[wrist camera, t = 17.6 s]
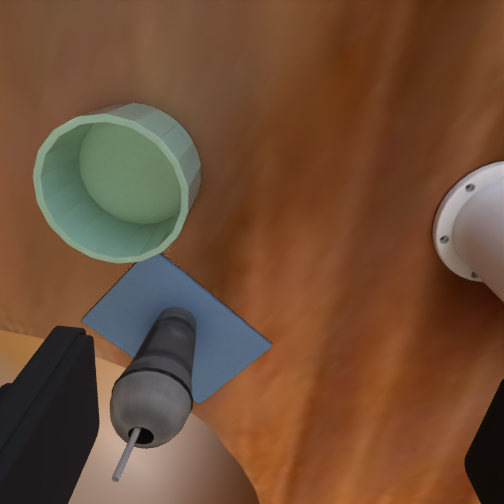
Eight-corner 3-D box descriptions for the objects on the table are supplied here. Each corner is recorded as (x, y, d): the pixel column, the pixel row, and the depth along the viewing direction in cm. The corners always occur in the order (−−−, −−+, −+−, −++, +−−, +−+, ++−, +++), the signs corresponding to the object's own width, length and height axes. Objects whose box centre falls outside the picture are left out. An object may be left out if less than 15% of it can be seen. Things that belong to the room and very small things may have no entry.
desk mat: (272, 343, 49) (272, 346, 48) (199, 401, 53) (199, 404, 53) (152, 245, 44) (150, 247, 43) (82, 318, 48) (80, 321, 48)
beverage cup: (162, 356, 49) (104, 530, 31) (133, 307, 47) (51, 468, 29) (218, 339, 48) (191, 510, 30) (192, 288, 45) (145, 443, 27)
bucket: (227, 168, 40) (220, 193, 33) (148, 250, 44) (126, 289, 37) (125, 71, 37) (92, 76, 29) (50, 170, 41) (3, 196, 33)
